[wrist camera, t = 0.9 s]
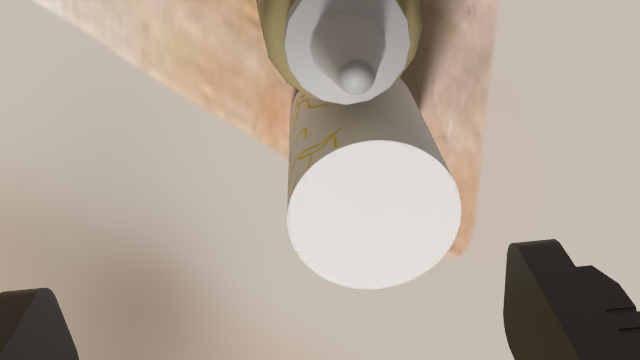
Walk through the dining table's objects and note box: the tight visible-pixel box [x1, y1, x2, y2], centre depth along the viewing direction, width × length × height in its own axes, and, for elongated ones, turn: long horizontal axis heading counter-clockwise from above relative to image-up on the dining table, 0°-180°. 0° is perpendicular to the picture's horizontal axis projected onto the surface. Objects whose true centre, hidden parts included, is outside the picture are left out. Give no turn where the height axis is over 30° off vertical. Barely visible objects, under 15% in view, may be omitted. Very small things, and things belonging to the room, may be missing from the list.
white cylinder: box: [287, 77, 461, 289], centre depth 33 cm, size 8×8×12 cm
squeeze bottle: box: [256, 0, 423, 105], centre depth 26 cm, size 8×8×18 cm
